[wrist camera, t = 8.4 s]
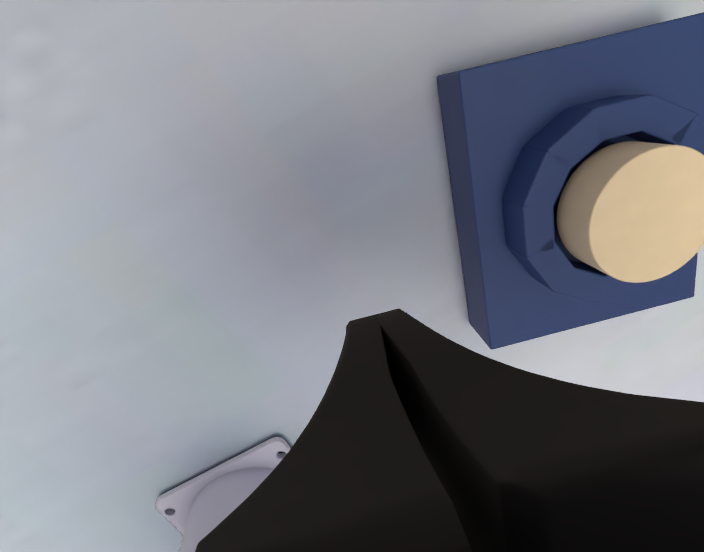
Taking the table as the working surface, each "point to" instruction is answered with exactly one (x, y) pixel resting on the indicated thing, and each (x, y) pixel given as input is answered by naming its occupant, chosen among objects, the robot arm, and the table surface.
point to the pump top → (635, 210)
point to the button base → (560, 169)
